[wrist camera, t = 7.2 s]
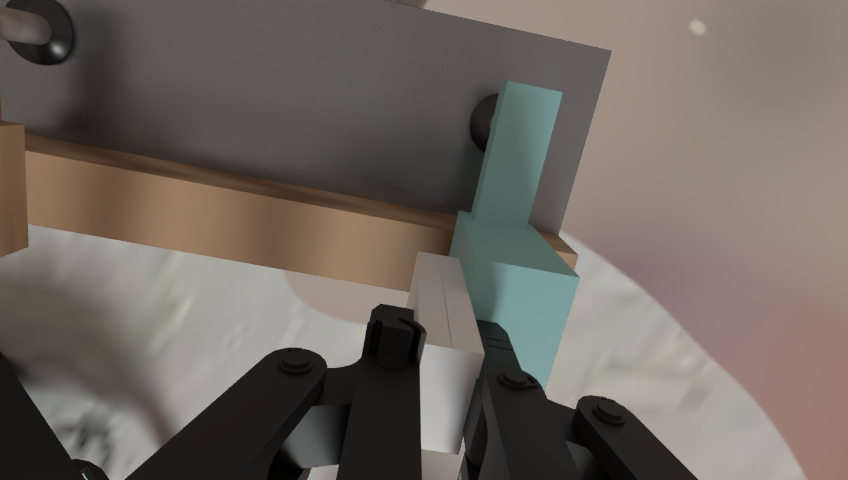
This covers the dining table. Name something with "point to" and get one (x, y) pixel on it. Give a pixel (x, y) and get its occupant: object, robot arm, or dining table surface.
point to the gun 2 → (32, 439)
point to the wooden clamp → (206, 206)
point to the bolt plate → (300, 92)
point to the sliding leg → (516, 233)
